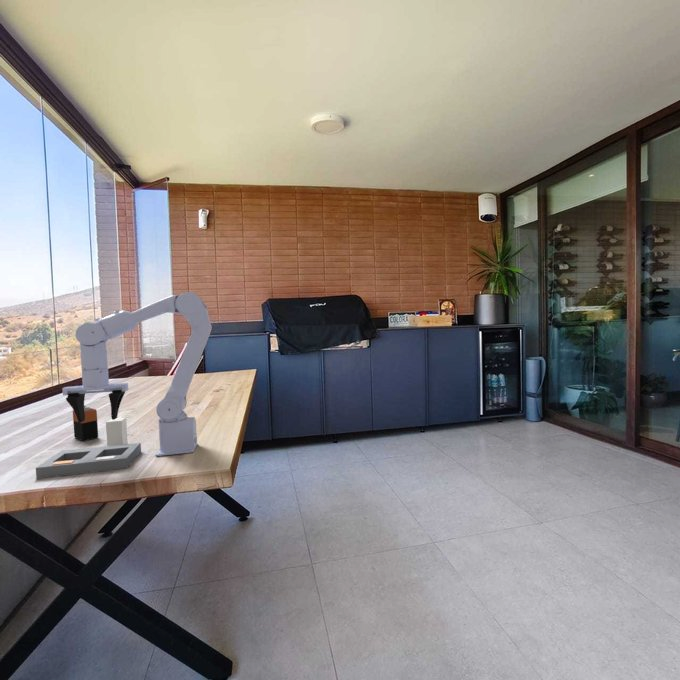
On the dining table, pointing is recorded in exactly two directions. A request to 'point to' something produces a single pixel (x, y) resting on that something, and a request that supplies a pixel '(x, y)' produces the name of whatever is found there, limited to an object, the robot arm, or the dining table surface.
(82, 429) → the battery
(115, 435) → the plug
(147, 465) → the dining table surface
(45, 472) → the socket block
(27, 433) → the dining table surface
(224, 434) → the dining table surface
